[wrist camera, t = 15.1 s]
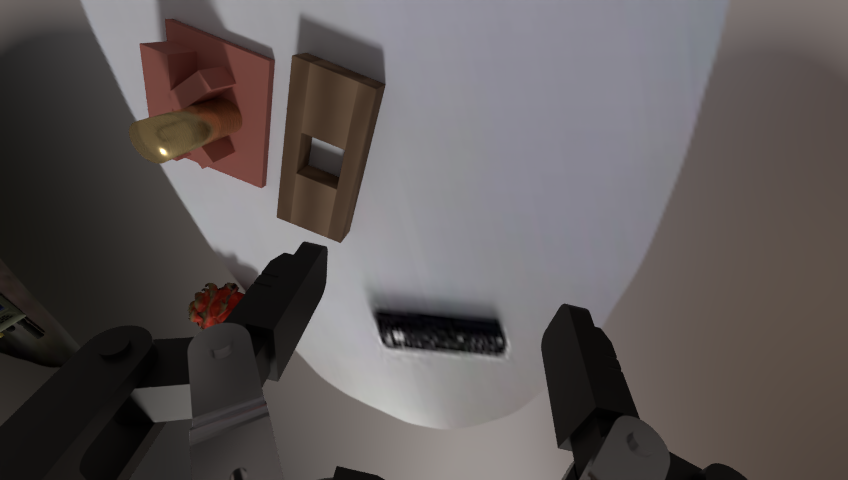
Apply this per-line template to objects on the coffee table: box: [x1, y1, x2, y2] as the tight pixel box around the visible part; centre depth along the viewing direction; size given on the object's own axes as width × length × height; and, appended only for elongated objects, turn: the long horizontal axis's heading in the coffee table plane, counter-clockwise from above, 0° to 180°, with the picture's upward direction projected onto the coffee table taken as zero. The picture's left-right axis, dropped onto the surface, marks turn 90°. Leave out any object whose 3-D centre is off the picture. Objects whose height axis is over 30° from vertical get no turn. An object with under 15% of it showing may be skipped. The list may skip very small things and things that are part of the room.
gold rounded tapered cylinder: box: [129, 98, 242, 163], centre depth 38 cm, size 4×4×11 cm
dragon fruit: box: [188, 283, 245, 330], centre depth 58 cm, size 8×8×12 cm
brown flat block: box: [277, 53, 385, 243], centre depth 42 cm, size 9×20×3 cm, turn 162°
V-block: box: [140, 19, 275, 188], centre depth 41 cm, size 12×16×5 cm
